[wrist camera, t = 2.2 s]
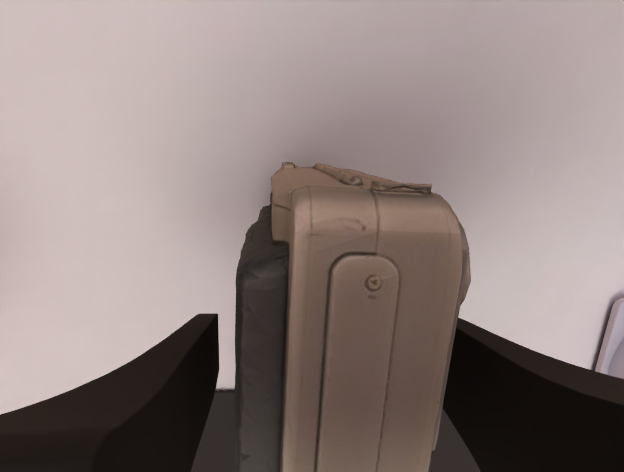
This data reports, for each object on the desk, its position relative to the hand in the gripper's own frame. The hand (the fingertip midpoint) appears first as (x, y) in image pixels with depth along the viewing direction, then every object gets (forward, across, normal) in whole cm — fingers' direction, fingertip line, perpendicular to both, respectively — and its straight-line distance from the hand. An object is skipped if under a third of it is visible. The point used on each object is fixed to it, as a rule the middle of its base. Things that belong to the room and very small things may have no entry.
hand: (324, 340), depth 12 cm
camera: (+6, 0, 0) cm, 6 cm away
